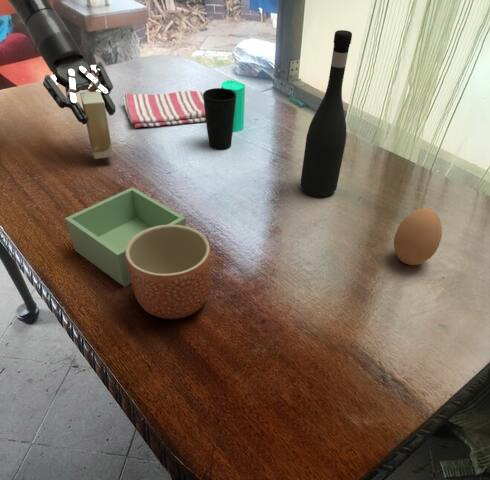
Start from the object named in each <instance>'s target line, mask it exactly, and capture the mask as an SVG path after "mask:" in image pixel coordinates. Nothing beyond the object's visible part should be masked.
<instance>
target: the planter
mask: <svg viewBox="0 0 490 480" xmlns="http://www.w3.org/2000/svg"><path fill="white" fill-rule="evenodd" d="M125 256H126V263H127V267H128V271H129V275H130V278H131V282H132V283H131V285H132V289H133V293H134V296H135V299H136V300H137V302H138V304H139V305H140V307H141V308H142V309H143V310H144V311H145V312H147V313H148V314H150V315H151V316H154V317H156V318H159V319H164V320H177V319H178V320H179V319H183V318H186V317H189V316H191V315H193V314H195V313H197V312H198V311H199V310H200V309H201V308H202V307H203V306H204V305H205V303H206V301H207V299H208V297H209V294H210V289H211V268H212V267H211V266H212V264H211V262H212V252H211V246H210V242H209V240H208V239H207V237H206V236H205V235H204V234H203V233H202V232H200V231H199V230H197V229H195V228H193V227H189V226H187V225H186V226H182V225H159V226H155V227H151V228H148V229H145V230H143V231H141V232H139V233H138V234H136V235H135V236H134V237H133V238H132V239H131V240H130V241H129V243H128V244H127V247H126V251H125Z"/></svg>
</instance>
